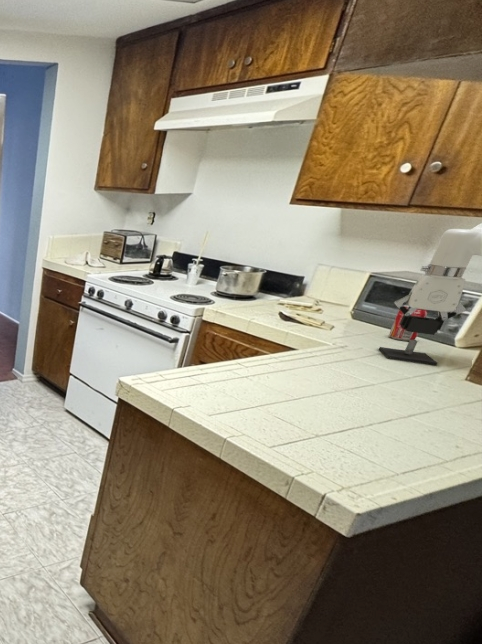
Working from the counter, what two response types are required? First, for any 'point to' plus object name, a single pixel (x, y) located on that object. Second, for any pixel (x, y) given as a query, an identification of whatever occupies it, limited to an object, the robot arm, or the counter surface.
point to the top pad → (422, 325)
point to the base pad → (408, 354)
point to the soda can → (401, 333)
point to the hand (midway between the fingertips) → (418, 329)
